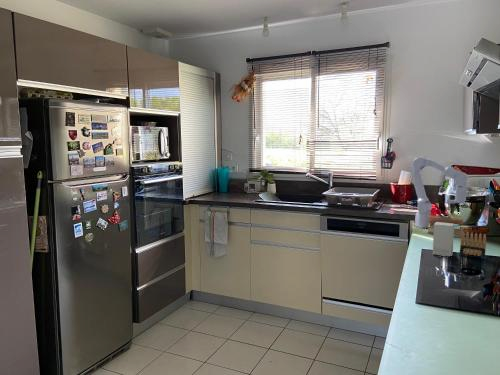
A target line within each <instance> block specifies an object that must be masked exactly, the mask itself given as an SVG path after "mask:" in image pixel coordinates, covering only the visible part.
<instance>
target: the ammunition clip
mask: <svg viewBox="0 0 500 375" xmlns="http://www.w3.org/2000/svg"><path fill="white" fill-rule="evenodd" d="M482 235H483V237H482ZM459 246H460V247H459V254H461V255H474V256H476V255H477V256H482V257H485V258H486V251H487V250H486V248H487V235H486V233H484V234H482V232H480V233H479V235H478V233H477V232H475V234H474V232H471V233H469V231H467V232H466V233H465V231H464V230H463V233H462V237H461V238H460V245H459Z"/></svg>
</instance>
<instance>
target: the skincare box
mask: <svg viewBox="0 0 500 375" xmlns="http://www.w3.org/2000/svg"><path fill="white" fill-rule="evenodd" d="M432 236H433V238H432V240H433V241H432V242H433V243H432V255H433V254H437V255H444V256H453V255H454V237H455V236H454V224H453V223H442V222H436V223H435V224H434V234H432Z"/></svg>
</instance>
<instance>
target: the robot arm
mask: <svg viewBox="0 0 500 375" xmlns="http://www.w3.org/2000/svg"><path fill="white" fill-rule="evenodd" d="M426 167H432V168H434V169H436V170H438V171H441V172H443V175H444V176H446V177H448V178H449V179H452V180H453V181H455V182H456V185H455V194H454V199H446V201H445V202H446V204H454V206H455V208H456V211H457V215H458V214H459V213H458V212H460V208H459V207H460V205H458V204H459V203H467V202H465V200H466V201H467V188H468V186H467V185H468V181H469V179H470V178H469V175H468V174H467V173H466V172H462V170H457V169H456V168H454V166H444V165H443V164H442V163H439V162H437V161H435V160H433V159H432V158H429V157H426V156H417V157H415V158H414V159H413V161H412V164H411V168H410V175H411V179H412V182H413V186H414V189H415V193H416V197H417V208H416V209H417V210H418V211H417V212H416V213H415V215H414V216H415V217H414V218H415V219H414V223H413V224H412V225H414V226H416V227H418V228H420V229H428V224H429V223H430V222H429V216H432V215H431V214H432V212H431V210H432V209H433V204H432V203H431V201H430V199H429V198H428V196H427V194H426V189H425V187H424V186H425V185H424V183H423V178H422V176H421V172H422V170H423V168H426ZM461 206H462V205H461Z"/></svg>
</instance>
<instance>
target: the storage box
mask: <svg viewBox="0 0 500 375" xmlns="http://www.w3.org/2000/svg"><path fill="white" fill-rule="evenodd" d="M434 224H435V223H429V224H428V228H427V234H431V235H434ZM463 231H464V229H463V226H462V227H460V229H454V237H458V238H459V237H462V233H463Z"/></svg>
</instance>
